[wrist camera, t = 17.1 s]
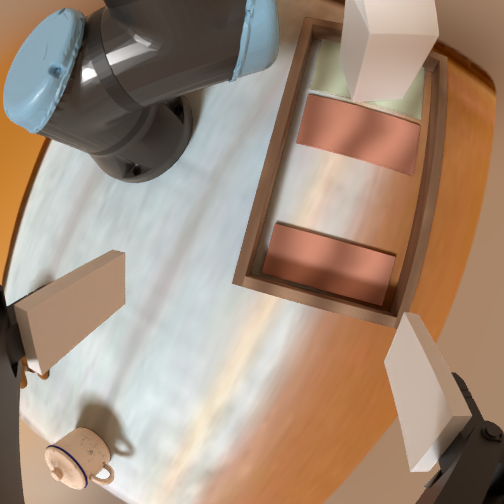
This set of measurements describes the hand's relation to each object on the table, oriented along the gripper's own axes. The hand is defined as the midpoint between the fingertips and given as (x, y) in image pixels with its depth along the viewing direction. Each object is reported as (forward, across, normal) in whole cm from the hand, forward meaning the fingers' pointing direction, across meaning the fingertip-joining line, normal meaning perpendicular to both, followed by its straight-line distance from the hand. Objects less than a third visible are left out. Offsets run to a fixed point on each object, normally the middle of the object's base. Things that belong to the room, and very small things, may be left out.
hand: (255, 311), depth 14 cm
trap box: (+27, +6, +8) cm, 29 cm away
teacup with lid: (+14, -24, -44) cm, 52 cm away
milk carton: (+30, +7, +19) cm, 36 cm away
